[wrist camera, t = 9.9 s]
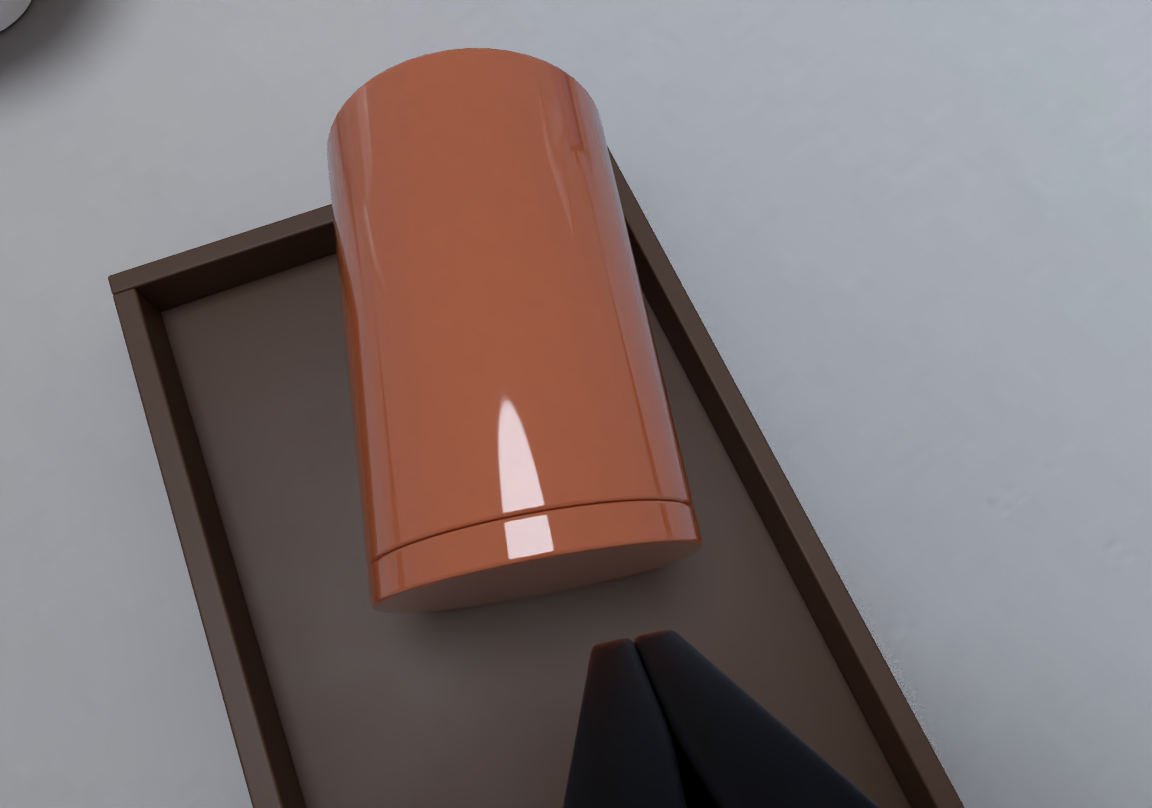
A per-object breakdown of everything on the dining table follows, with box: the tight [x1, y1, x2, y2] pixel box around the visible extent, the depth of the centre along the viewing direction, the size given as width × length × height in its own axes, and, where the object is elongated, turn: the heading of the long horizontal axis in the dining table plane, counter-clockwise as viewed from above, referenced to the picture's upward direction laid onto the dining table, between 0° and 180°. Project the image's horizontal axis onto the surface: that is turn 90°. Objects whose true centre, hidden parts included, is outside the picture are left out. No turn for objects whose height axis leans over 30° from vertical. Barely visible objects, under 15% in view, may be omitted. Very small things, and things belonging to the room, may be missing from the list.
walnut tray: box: [108, 147, 964, 808], centre depth 19 cm, size 21×14×2 cm
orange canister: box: [327, 48, 703, 613], centre depth 17 cm, size 7×7×11 cm
